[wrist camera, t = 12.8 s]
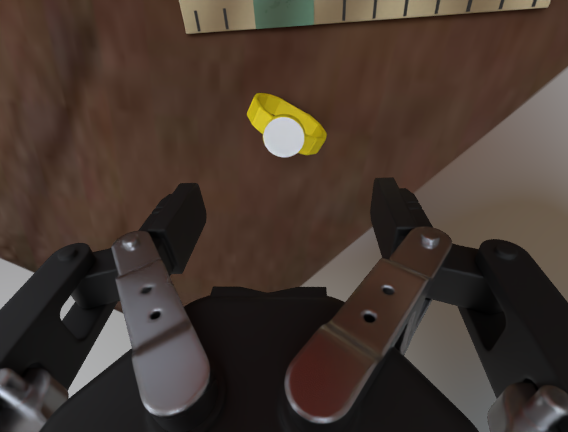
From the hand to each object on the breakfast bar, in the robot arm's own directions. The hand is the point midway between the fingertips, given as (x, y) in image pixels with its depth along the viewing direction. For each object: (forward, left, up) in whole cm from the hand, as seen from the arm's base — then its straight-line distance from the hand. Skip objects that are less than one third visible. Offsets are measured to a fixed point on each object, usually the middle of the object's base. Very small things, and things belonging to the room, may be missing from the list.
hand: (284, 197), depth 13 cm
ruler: (-5, -8, -13) cm, 16 cm away
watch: (0, 0, -13) cm, 13 cm away
